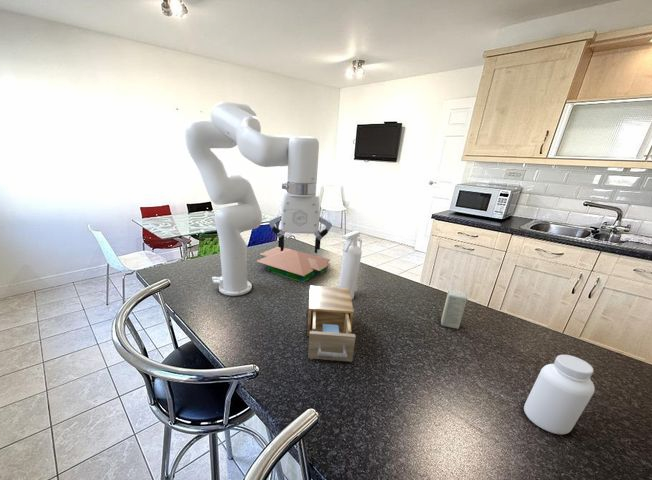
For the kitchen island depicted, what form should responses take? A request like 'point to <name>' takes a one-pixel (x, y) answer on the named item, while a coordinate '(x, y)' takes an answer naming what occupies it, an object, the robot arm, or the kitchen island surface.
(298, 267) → the house
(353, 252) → the white spray bottle
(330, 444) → the kitchen island surface
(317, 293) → the cabinet
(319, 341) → the drawer
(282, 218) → the robot arm
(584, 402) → the pill bottle
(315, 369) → the kitchen island surface
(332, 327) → the block
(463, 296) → the box
